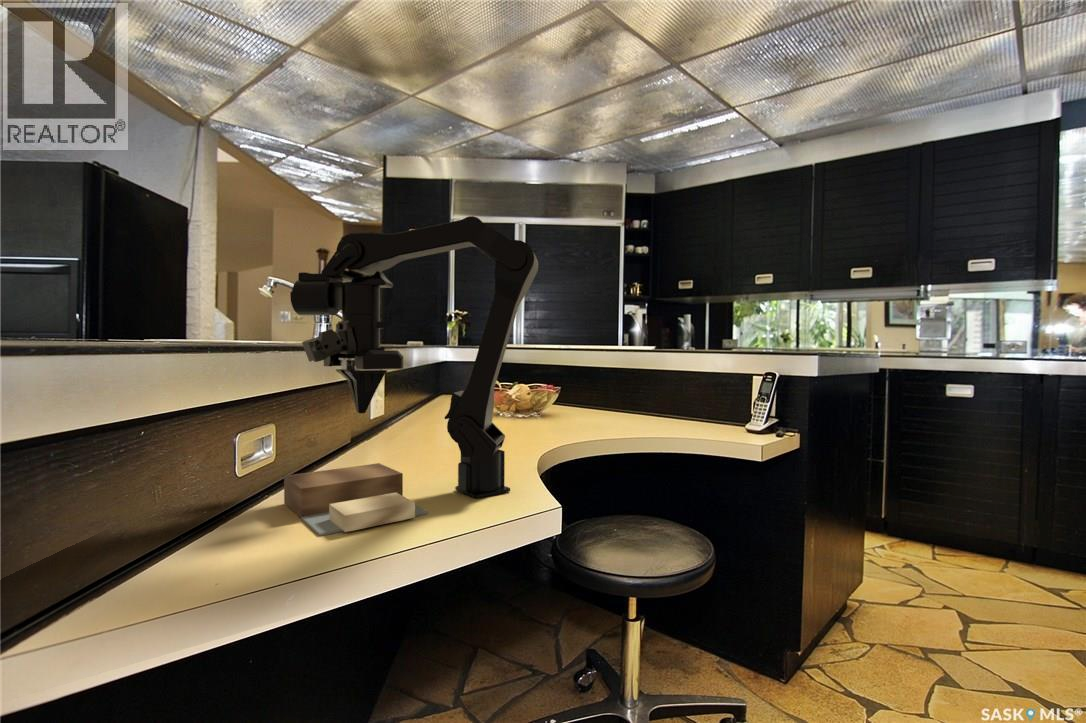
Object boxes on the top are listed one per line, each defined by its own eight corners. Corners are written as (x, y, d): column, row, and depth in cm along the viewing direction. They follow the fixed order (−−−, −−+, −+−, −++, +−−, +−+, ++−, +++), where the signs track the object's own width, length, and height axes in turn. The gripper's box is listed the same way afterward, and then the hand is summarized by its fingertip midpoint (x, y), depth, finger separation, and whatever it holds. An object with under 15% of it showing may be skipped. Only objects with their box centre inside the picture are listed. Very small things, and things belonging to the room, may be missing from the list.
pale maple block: (414, 502, 69) (414, 517, 69) (395, 492, 73) (395, 506, 73) (345, 515, 63) (345, 532, 63) (329, 504, 68) (329, 519, 68)
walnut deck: (378, 487, 85) (378, 463, 84) (402, 500, 78) (402, 473, 77) (284, 503, 76) (284, 475, 76) (301, 519, 69) (301, 488, 69)
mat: (402, 500, 78) (402, 498, 78) (427, 513, 71) (427, 511, 71) (301, 519, 69) (301, 516, 69) (319, 536, 62) (319, 533, 62)
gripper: (291, 315, 86) (291, 411, 86) (328, 309, 72) (328, 423, 72) (358, 318, 93) (358, 406, 93) (405, 313, 79) (404, 417, 79)
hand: (361, 413), depth 84 cm, fingers closed
